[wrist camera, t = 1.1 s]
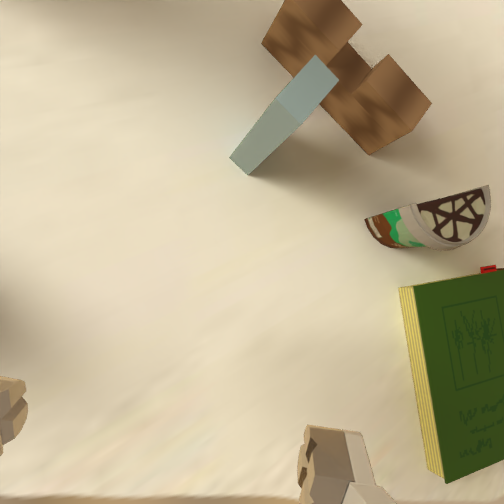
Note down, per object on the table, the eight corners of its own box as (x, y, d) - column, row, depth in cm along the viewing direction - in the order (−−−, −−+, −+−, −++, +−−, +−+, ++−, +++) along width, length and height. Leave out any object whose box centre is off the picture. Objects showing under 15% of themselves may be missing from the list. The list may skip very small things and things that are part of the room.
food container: (367, 266, 48) (427, 260, 38) (355, 221, 48) (411, 204, 38) (436, 245, 52) (505, 235, 43) (425, 203, 52) (491, 184, 43)
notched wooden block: (261, 43, 46) (288, -6, 38) (283, 20, 47) (314, -31, 40) (368, 155, 50) (412, 130, 42) (386, 131, 51) (431, 103, 43)
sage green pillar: (229, 157, 43) (275, 98, 30) (259, 124, 45) (315, 54, 31) (247, 175, 43) (301, 124, 30) (276, 141, 45) (339, 80, 32)
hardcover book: (521, 430, 54) (548, 440, 51) (423, 469, 48) (446, 483, 44) (491, 264, 56) (516, 262, 52) (392, 280, 49) (413, 280, 46)
